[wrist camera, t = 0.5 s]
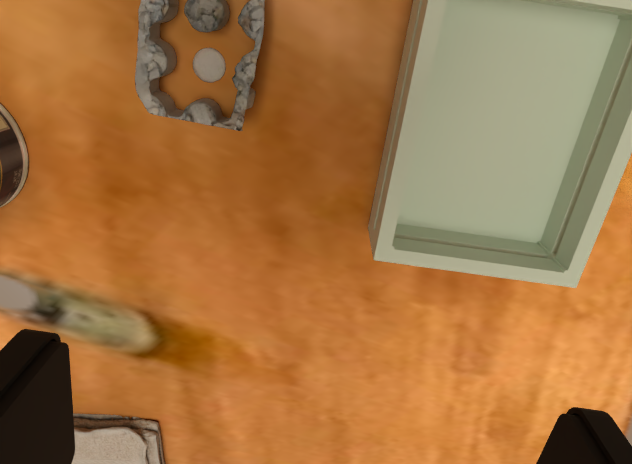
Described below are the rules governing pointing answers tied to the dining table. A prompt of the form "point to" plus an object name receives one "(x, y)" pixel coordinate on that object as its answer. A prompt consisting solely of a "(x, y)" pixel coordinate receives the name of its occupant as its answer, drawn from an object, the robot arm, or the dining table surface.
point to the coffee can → (11, 158)
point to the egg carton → (195, 59)
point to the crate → (505, 137)
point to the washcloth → (116, 440)
